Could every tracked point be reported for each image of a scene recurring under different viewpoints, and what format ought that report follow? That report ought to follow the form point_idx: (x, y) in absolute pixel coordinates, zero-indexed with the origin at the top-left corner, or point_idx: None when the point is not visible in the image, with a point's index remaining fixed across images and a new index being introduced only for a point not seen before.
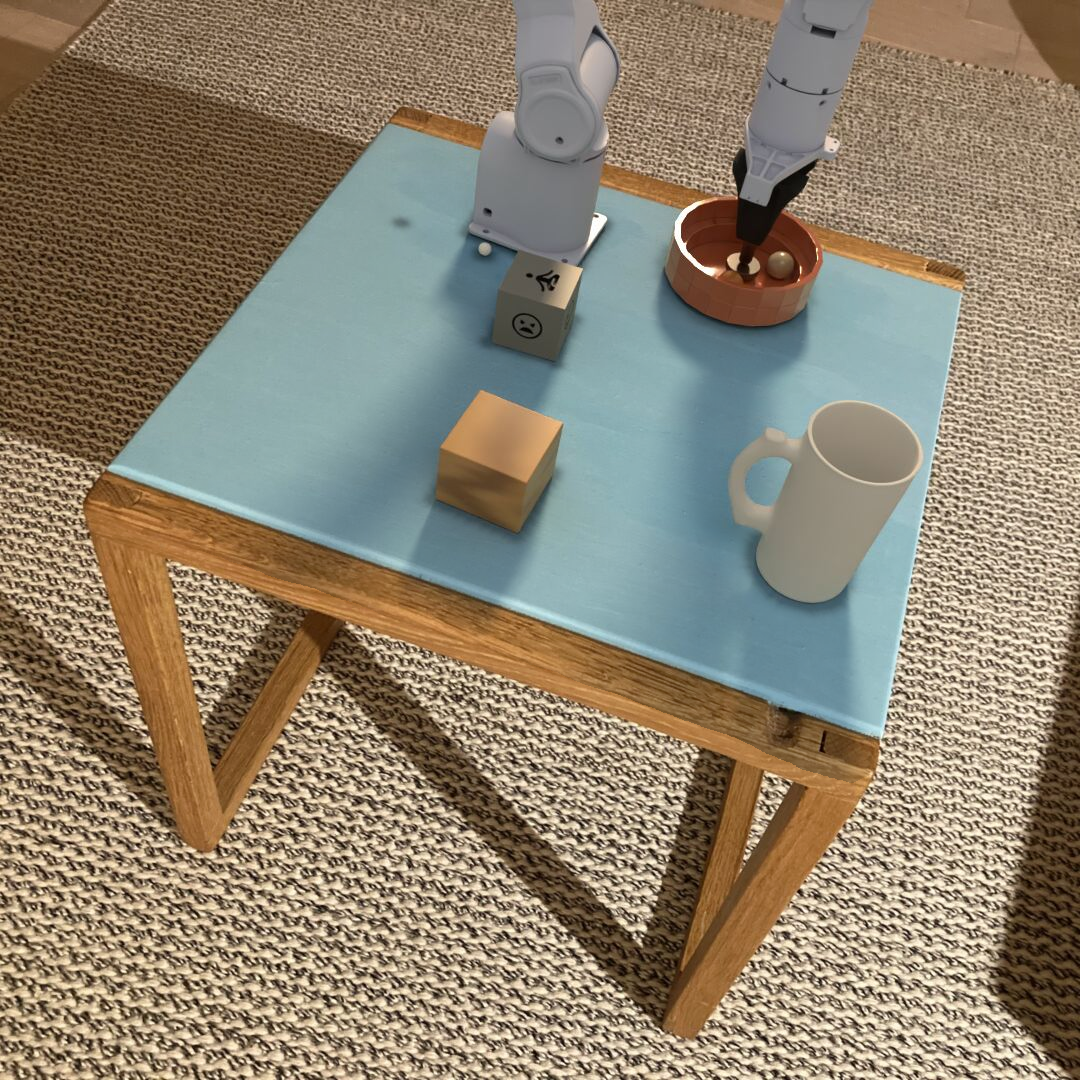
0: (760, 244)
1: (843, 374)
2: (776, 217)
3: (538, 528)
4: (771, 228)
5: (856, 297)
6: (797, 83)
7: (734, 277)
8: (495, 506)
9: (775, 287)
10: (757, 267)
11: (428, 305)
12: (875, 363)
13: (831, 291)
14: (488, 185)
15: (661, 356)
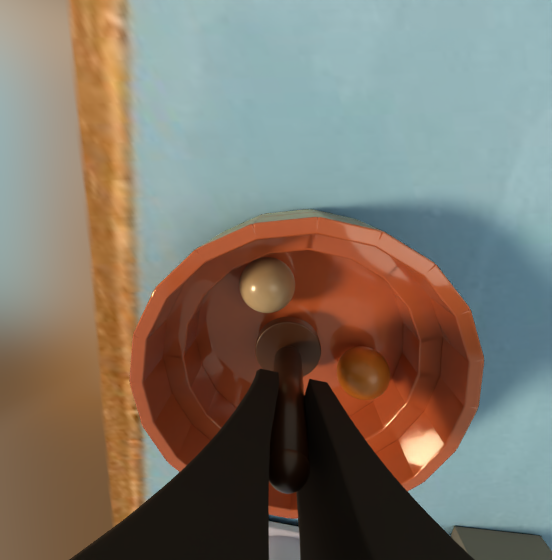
0: (328, 385)
1: (526, 120)
2: (383, 464)
3: None
4: (349, 418)
5: (259, 96)
6: None
7: (378, 385)
8: None
9: (461, 333)
10: (291, 327)
11: None
12: (480, 40)
13: (259, 157)
14: None
15: (512, 426)
